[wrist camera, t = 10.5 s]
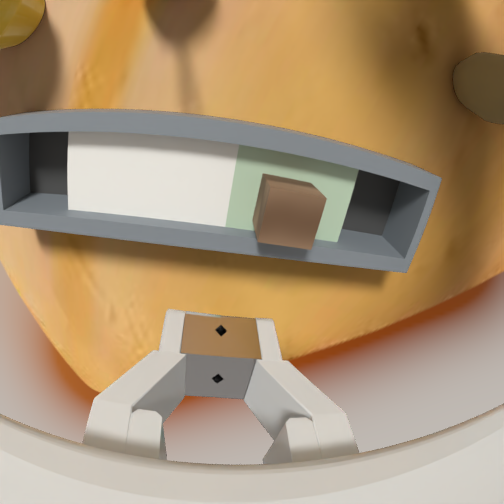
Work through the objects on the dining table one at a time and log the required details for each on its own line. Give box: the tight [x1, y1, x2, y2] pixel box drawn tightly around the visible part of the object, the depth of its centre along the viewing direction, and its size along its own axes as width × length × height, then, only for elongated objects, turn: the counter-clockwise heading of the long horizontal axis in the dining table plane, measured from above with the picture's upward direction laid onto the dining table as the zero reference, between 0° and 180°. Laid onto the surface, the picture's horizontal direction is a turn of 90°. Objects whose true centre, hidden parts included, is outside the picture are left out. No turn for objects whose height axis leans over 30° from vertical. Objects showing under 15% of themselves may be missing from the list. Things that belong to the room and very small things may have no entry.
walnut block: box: [252, 173, 327, 250], centre depth 22 cm, size 4×4×4 cm
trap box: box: [0, 109, 442, 273], centre depth 24 cm, size 10×40×6 cm, turn 80°
